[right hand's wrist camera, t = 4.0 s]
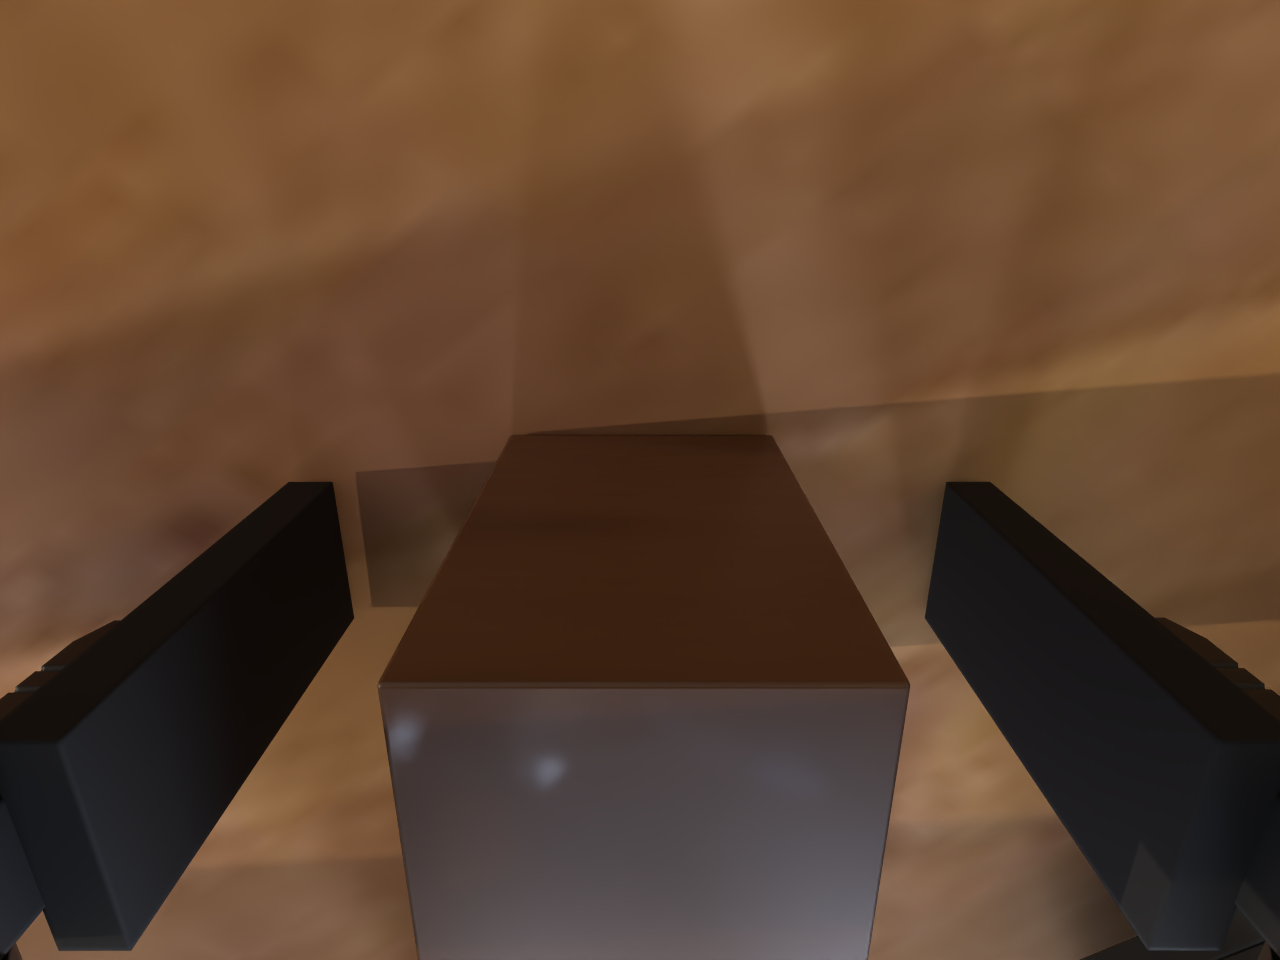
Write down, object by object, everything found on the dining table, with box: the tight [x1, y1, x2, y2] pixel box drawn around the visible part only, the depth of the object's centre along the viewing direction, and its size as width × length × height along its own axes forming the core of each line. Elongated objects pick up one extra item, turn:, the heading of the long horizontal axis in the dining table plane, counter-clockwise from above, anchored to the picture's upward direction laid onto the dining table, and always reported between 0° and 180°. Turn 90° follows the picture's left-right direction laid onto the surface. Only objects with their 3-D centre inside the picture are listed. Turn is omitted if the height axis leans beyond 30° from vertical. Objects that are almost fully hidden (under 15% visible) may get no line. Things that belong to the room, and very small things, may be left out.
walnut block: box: [378, 435, 910, 960], centre depth 10 cm, size 4×4×7 cm
